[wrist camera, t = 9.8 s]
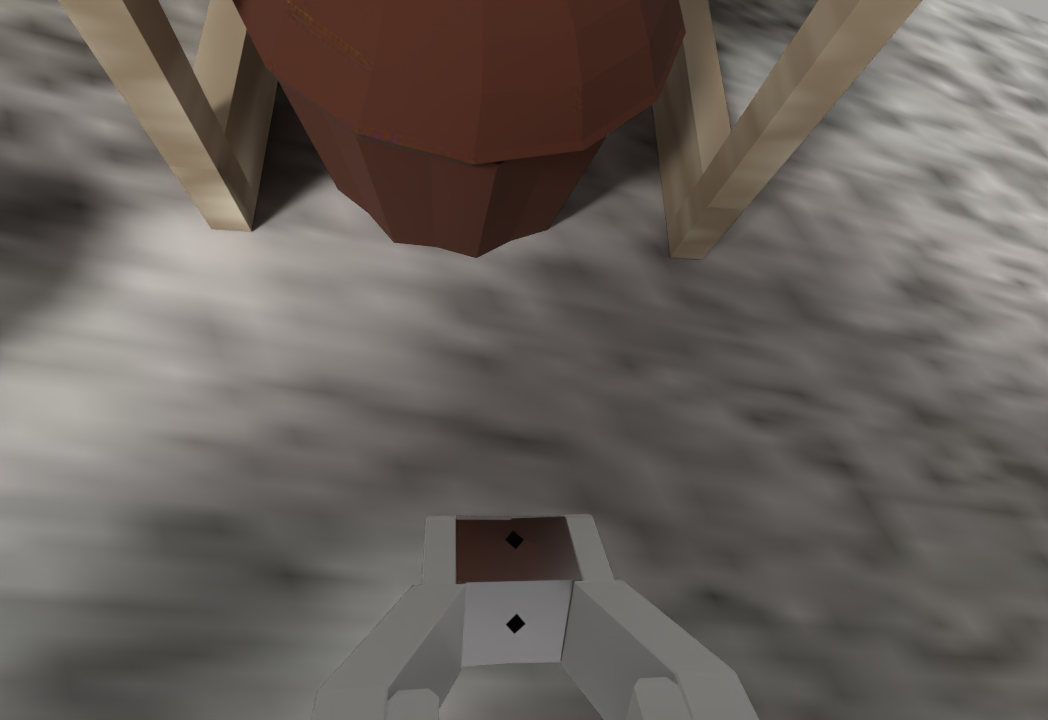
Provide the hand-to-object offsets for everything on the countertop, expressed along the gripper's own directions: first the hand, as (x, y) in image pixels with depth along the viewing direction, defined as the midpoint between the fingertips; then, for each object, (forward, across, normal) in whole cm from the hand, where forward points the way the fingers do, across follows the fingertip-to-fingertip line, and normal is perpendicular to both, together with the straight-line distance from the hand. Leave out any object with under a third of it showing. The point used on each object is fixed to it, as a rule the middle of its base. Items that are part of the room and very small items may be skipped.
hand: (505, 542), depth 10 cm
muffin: (+14, -1, +6) cm, 15 cm away
